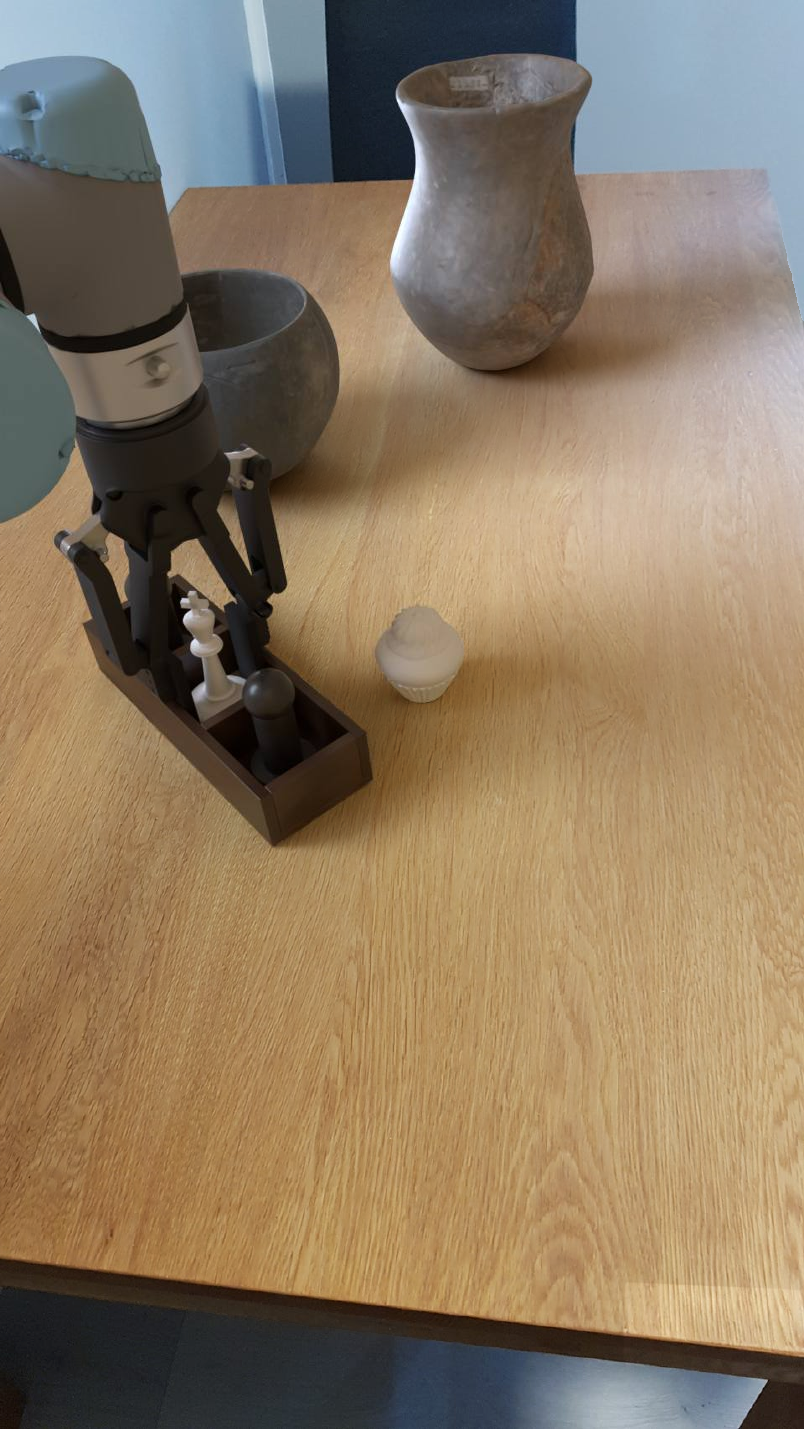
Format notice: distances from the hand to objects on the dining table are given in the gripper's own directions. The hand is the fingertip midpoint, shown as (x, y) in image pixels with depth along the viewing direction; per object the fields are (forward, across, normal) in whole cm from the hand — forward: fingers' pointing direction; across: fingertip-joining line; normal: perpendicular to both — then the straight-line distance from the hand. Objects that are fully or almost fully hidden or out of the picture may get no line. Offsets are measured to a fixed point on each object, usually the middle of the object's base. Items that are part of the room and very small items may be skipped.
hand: (222, 703), depth 74 cm
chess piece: (+1, 0, 0) cm, 1 cm away
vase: (+2, +49, +25) cm, 55 cm away
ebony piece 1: (+1, 0, +7) cm, 7 cm away
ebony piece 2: (+1, 0, -7) cm, 7 cm away
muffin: (+2, +12, -7) cm, 14 cm away
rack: (+2, 0, 0) cm, 2 cm away
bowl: (+2, +19, +27) cm, 33 cm away
